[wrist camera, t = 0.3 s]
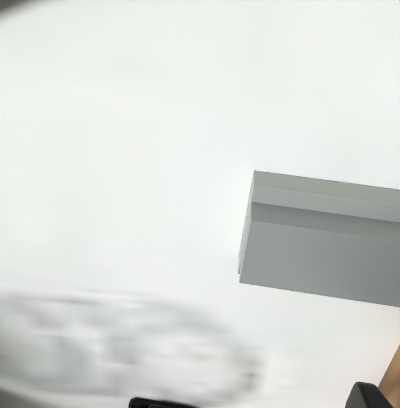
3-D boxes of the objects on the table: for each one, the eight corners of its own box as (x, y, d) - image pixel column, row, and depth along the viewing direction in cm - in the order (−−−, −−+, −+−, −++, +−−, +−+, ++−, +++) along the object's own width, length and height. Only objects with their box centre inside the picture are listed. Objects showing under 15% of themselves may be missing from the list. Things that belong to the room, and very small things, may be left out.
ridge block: (395, 277, 24) (420, 325, 20) (239, 254, 24) (237, 296, 21) (432, 194, 21) (468, 232, 17) (253, 170, 21) (254, 202, 18)
